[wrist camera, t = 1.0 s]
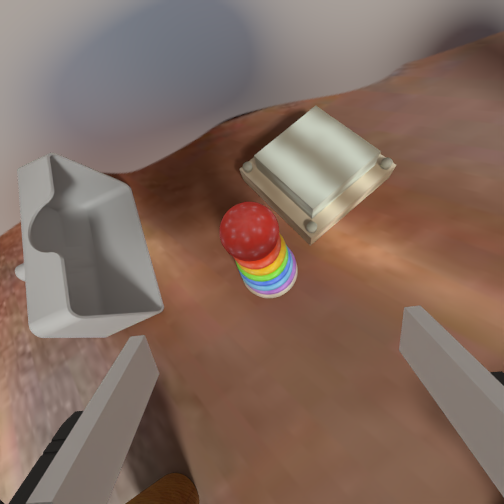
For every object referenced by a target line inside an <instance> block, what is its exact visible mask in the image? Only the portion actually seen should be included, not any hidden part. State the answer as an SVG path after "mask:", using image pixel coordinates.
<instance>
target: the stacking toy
mask: <svg viewBox="0 0 504 504" xmlns="http://www.w3.org/2000/svg"><path fill="white" fill-rule="evenodd" d="M220 239H221V242H222V245H223V246H224V248H225V249H226V251H227V252H228V253H229V254H230V255H232V256H233V257H234V259H235V261H236V265H237V267H238V270H239V272H240V275H241V277H242V279H243V282H244V284H245V286H246V287H247V288H248V289H249V290H250V291H251V292H252V293H253V294H255V295H257V296H259V297H263V298H275V297H279V296H281V295H283V294H285V293H286V292H287V291H289V290H290V289H291V287H292V286H293V285H294V283H295V281H296V278H297V263H296V260H295V257H294V255H293V253H292V251H291V250H290V249H289V248H288V247H287V245H286V244H285V241H284V239H283V237H282V236H281V234H280V233H279V226H278V222H277V219H276V217H275V216H274V214H273V213H272V212H271V211H270V210H269V209H268V208H267V207H265V206H263V205H262V204H259V203H256V202H243V203H239V204H237V205H235V206H233V207H232V208H230V209H229V210H228V211H227V212H226V214H225V215H224V217H223V219H222V221H221V224H220Z"/></svg>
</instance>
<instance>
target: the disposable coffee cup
mask: <svg viewBox="0 0 504 504" xmlns="http://www.w3.org/2000/svg"><path fill="white" fill-rule="evenodd" d="M126 504H199V496H198V493H197V490H196V488H195V486H194V484H193V483H192V482H191V480H190V479H189V478H187V477H186V476H185V475H183V474H179V473H170V474H167V475H166V476H164V477H162V478H161V479H160V480H158V481H157V482H155V483H154V484H153V485H151V486H150V487H148V488H147V489H145V490H144V491H143V492H141V493H140V494H138V495H137V496H136V497H134V498H133V499H131V500H130V501H129V502H127V503H126Z"/></svg>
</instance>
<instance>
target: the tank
mask: <svg viewBox="0 0 504 504" xmlns="http://www.w3.org/2000/svg"><path fill="white" fill-rule="evenodd" d="M17 172H18V185H19V199H20V213H21V227H22V241H23V254H24V263H23V264H21V265H19V266H17V267H16V269H15V273H16V275H17V277H18V278H19V279H21V280H23V281H26V295H27V309H28V322H29V328H30V330H31V331H32V333H33V334H34V335H36V336H38V337H40V338H105V337H108V336H110V335H112V334H114V333H116V332H119V331H121V330H123V329H125V328H127V327H130V326H132V325H134V324H136V323H138V322H141V321H143V320H145V319H147V318H149V317H152V316H154V315H156V314H158V313H160V312H162V311H163V309H164V305H163V301H162V298H161V294H160V291H159V287H158V283H157V280H156V276H155V273H154V269H153V265H152V262H151V258H150V255H149V251H148V247H147V244H146V240H145V237H144V233H143V229H142V226H141V222H140V219H139V215H138V211H137V208H136V204H135V201H134V197H133V193H132V190H131V188H130V187H129V186H128V185H127V184H126V183H124V182H122V181H120V180H117V179H115V178H113V177H110V176H108V175H106V174H103V173H101V172H99V171H96V170H94V169H91V168H89V167H87V166H84V165H82V164H80V163H77V162H75V161H73V160H70V159H68V158H66V157H63V156H61V155H59V154H55V153H50V154H47V155H45V156H43V157H41V158H39V159H37V160H35V161H33V162H31V163H28V164H26V165H24V166H22V167H20V168H19V169H18V170H17Z"/></svg>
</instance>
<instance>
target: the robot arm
mask: <svg viewBox="0 0 504 504" xmlns="http://www.w3.org/2000/svg"><path fill="white" fill-rule="evenodd" d="M399 351H400V352H401V354H402V355H403V356H404V358H405V359H406V361H407V362H408V363H409V365H410V366H411V368H412V369H413V370H414V372H415V373H416V375H417V376H418V377H419V379H420V380H421V382H422V383H423V385H424V386H425V387H426V389H427V390H428V392H429V393H430V394H431V396H432V397H433V399H434V400H435V401H436V403H437V404H438V406H439V407H440V408H441V410H442V411H443V413H444V414H445V415H446V417H447V418H448V420H449V421H450V422H451V424H452V425H453V427H454V428H455V430H456V431H457V432H458V434H459V435H460V437H461V438H462V439H463V441H464V442H465V444H466V445H467V446H468V448H469V449H470V451H471V452H472V453H473V455H474V456H475V458H476V459H477V460H478V462H479V463H480V465H481V466H482V468H483V469H484V470H485V472H486V473H487V475H488V476H489V477H490V479H491V480H492V482H493V483H494V484H495V486H496V487H497V489H498V490H499V491H500V493H501V494H502V496H503V497H504V373H503V372H502V371H501V372H489V371H488V370H487V369H486V368H485V367H484V366H482V365H481V364H480V363H479V362H478V361H477V360H476V359H475V358H474V357H473V356H472V355H471V354H470V353H469V352H468V351H467V350H466V349H465V348H464V347H463V346H462V345H461V344H460V343H459V342H458V341H457V340H456V339H454V338H453V337H452V336H451V335H450V334H449V333H448V332H447V331H446V330H445V329H444V328H443V327H442V326H441V325H440V324H439V323H438V322H437V321H436V320H435V319H434V318H433V317H432V316H431V315H430V314H429V313H428V312H426V311H425V310H424V309H423V308H422V307H421V306H412V307H404V314H403V322H402V330H401V339H400V347H399ZM158 376H159V372H158V369H157V366H156V364H155V361H154V358H153V356H152V353H151V350H150V348H149V345H148V342H147V340H146V337H145V335H142V336H132V337H130V338H129V340H128V341H127V343H126V345H125V346H124V348H123V349H122V351H121V352H120V354H119V356H118V357H117V359H116V360H115V362H114V364H113V365H112V367H111V368H110V370H109V372H108V373H107V375H106V376H105V378H104V380H103V381H102V383H101V384H100V386H99V387H98V389H97V391H96V392H95V394H94V395H93V397H92V399H91V400H90V402H89V403H88V405H87V407H86V408H85V410H84V411H77V412H74V413H73V414H72V415H71V416H70V417H69V418H68V419H67V420H66V421H65V422H64V423H63V424H62V425H61V427H60V428H59V430H58V431H57V433H56V434H55V436H54V437H53V439H52V442H51V443H49V445H48V446H47V448H46V449H45V451H44V452H43V455H42V456H40V458H39V459H38V461H37V462H36V464H35V465H34V467H33V468H32V470H31V471H30V473H29V474H28V476H27V477H26V479H25V480H24V482H23V483H22V485H21V486H20V488H19V489H18V491H17V492H16V493H15V495H14V496H13V498H12V499H11V501H10V502H9V504H107V503H108V500H109V498H110V495H111V493H112V490H113V488H114V485H115V483H116V480H117V478H118V475H119V473H120V470H121V468H122V465H123V463H124V460H125V458H126V456H127V453H128V451H129V448H130V446H131V443H132V441H133V438H134V436H135V433H136V431H137V428H138V426H139V423H140V421H141V418H142V416H143V413H144V411H145V408H146V406H147V403H148V401H149V398H150V396H151V393H152V391H153V388H154V386H155V383H156V381H157V378H158ZM0 504H4V503H3V502H2V501H1V500H0Z"/></svg>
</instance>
